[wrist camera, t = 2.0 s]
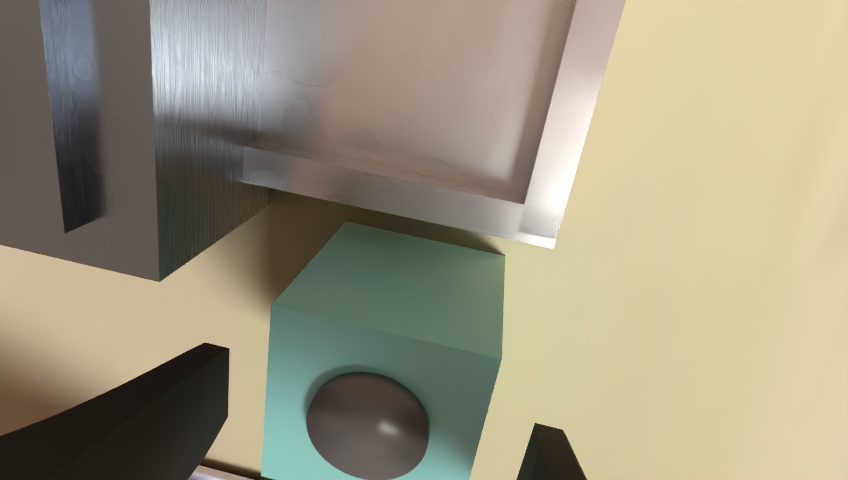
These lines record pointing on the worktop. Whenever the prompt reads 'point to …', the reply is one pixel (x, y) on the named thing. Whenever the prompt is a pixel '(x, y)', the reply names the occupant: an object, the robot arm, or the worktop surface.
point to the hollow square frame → (287, 117)
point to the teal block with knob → (383, 360)
